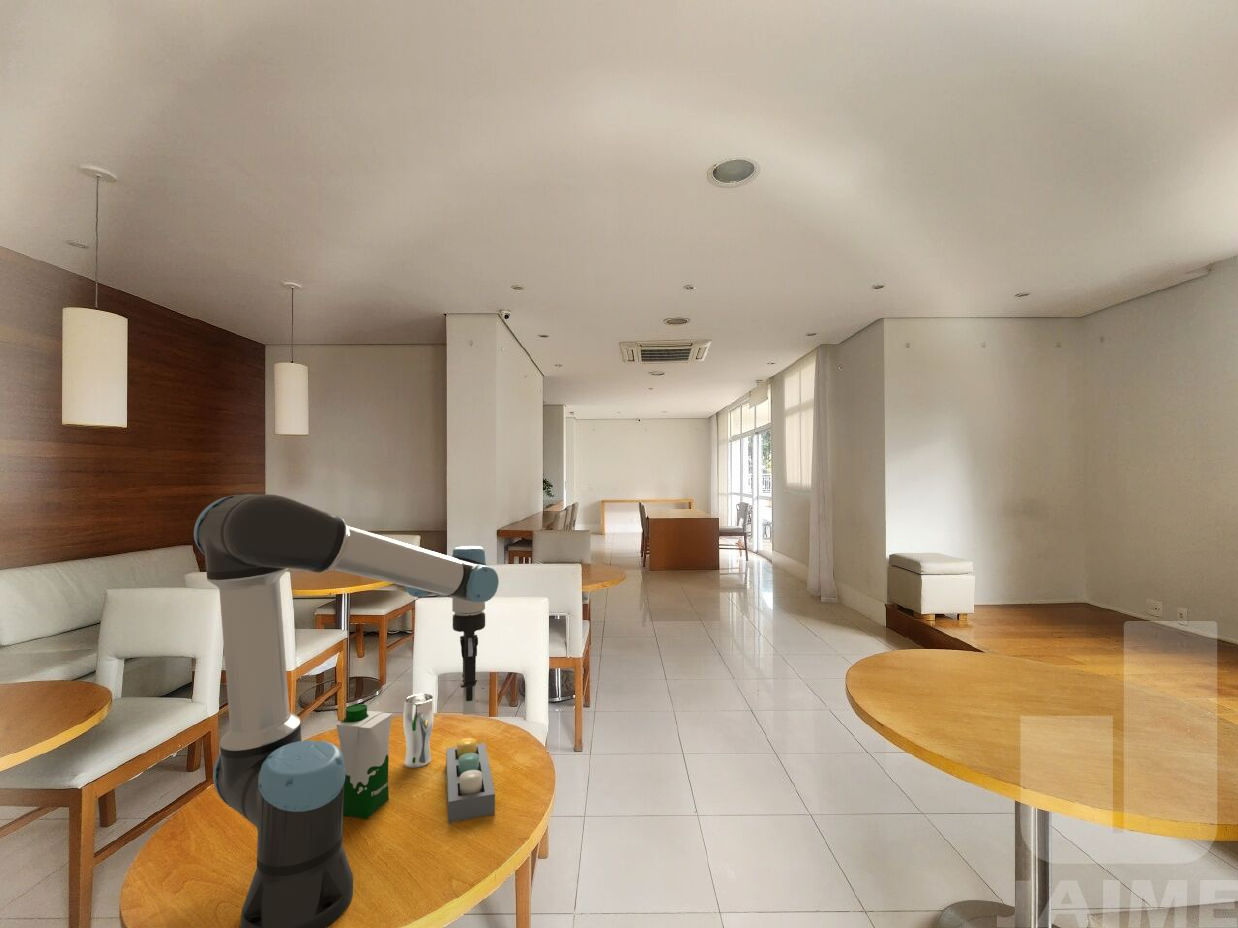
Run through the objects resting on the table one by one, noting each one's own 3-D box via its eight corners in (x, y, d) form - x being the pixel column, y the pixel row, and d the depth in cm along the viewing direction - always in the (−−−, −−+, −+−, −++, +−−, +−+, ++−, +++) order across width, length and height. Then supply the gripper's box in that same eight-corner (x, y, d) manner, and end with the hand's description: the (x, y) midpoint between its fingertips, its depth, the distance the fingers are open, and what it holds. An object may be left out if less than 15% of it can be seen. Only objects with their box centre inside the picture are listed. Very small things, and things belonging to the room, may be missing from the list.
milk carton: (358, 793, 118) (360, 699, 119) (395, 798, 116) (397, 702, 117) (328, 817, 109) (331, 715, 110) (369, 822, 108) (371, 718, 109)
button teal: (479, 776, 119) (479, 760, 119) (458, 779, 118) (458, 763, 118) (478, 766, 123) (478, 751, 123) (457, 769, 122) (458, 754, 122)
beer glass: (437, 755, 135) (438, 693, 136) (425, 769, 128) (426, 704, 129) (410, 754, 136) (412, 692, 137) (396, 768, 129) (398, 703, 130)
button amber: (477, 759, 127) (477, 744, 127) (457, 762, 125) (457, 747, 125) (475, 750, 131) (476, 736, 131) (456, 753, 129) (456, 739, 130)
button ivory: (482, 795, 111) (482, 778, 112) (460, 798, 110) (460, 782, 110) (480, 784, 116) (481, 768, 116) (459, 787, 114) (459, 771, 114)
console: (494, 814, 110) (495, 793, 111) (448, 822, 107) (448, 801, 108) (484, 759, 133) (485, 742, 133) (446, 765, 130) (446, 748, 130)
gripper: (487, 616, 125) (487, 721, 124) (483, 605, 137) (483, 700, 136) (453, 619, 123) (453, 726, 122) (451, 607, 135) (451, 704, 134)
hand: (468, 712), depth 129 cm, fingers closed
